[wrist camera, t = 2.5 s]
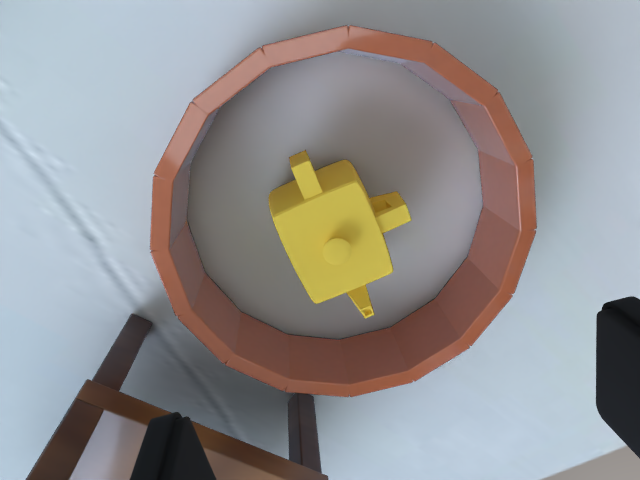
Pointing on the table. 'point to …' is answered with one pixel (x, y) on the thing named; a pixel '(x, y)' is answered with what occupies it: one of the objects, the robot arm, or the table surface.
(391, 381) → the ring
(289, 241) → the teapot
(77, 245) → the table surface
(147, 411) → the miniature wooden seat
